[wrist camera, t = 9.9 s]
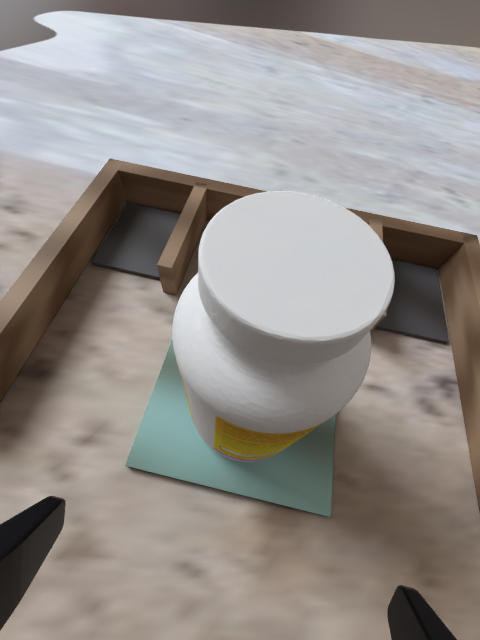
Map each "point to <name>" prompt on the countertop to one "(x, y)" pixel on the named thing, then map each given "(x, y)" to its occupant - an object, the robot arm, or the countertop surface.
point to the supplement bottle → (278, 320)
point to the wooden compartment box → (170, 266)
